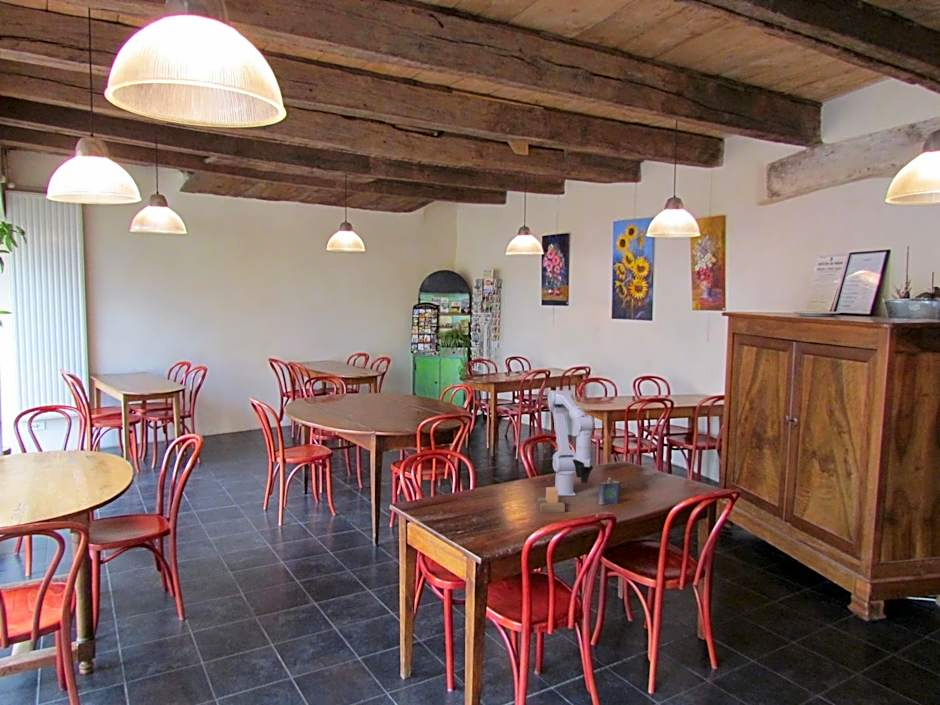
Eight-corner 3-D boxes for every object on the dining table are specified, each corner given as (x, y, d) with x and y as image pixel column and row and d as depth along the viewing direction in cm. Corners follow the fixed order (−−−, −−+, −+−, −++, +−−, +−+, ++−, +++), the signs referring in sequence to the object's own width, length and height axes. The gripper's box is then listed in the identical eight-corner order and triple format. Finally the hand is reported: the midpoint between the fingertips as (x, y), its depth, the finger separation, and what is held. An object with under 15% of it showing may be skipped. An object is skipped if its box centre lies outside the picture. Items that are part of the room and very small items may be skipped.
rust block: (545, 499, 255) (546, 487, 255) (555, 499, 255) (556, 487, 255) (547, 502, 251) (548, 490, 251) (557, 502, 251) (558, 490, 251)
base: (537, 504, 258) (537, 497, 257) (559, 504, 258) (559, 497, 258) (541, 512, 249) (541, 504, 248) (564, 512, 249) (564, 504, 249)
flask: (600, 505, 259) (601, 479, 258) (596, 503, 261) (597, 477, 260) (620, 504, 262) (621, 478, 261) (616, 501, 264) (617, 476, 263)
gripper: (569, 442, 263) (567, 474, 264) (577, 450, 249) (576, 485, 250) (586, 442, 264) (584, 474, 265) (595, 450, 249) (594, 485, 251)
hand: (581, 479), depth 258 cm, fingers open, 7 cm apart
